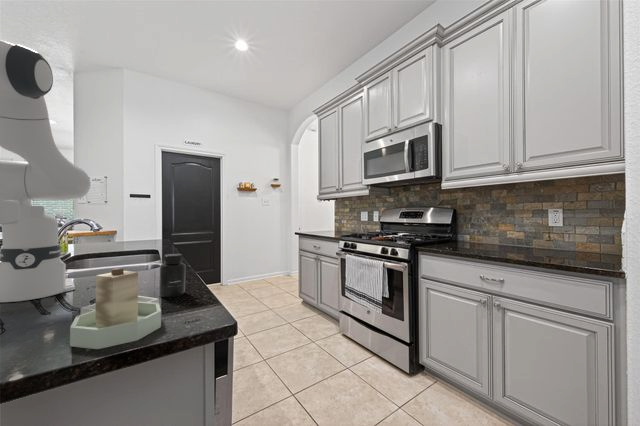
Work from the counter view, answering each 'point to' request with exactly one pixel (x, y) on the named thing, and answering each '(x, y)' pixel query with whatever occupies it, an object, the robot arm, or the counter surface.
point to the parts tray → (140, 299)
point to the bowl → (114, 328)
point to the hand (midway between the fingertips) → (26, 210)
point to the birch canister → (116, 298)
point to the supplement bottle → (172, 276)
